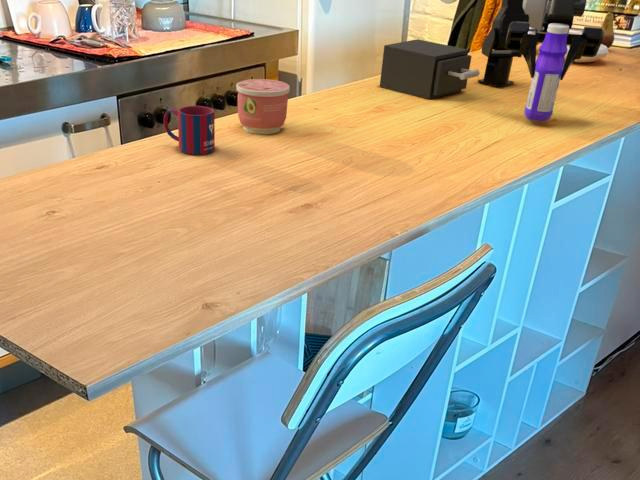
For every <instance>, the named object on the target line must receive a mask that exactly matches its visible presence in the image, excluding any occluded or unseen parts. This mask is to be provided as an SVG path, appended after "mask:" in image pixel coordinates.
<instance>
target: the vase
mask: <svg viewBox="0 0 640 480" xmlns="http://www.w3.org/2000/svg"><path fill="white" fill-rule="evenodd" d="M582 32H583V30H578V33H577V34H579V35H582ZM569 48H570V46H567V49H568V51H569ZM568 51H567V53H568ZM609 52H610V51H609V48H607V46H605V45H603V44H601V45H600V48H599V50H598V52H597V55H596V56H594V57H583V56H582V57H581V58H580V59H575V60H574V62H573V63H592V62H597V61H600V60H601V59H603V58H605V57H607V55H608V53H609ZM567 53H566V54H565V59H566V56H567ZM565 59H564V61H565Z"/></svg>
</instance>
